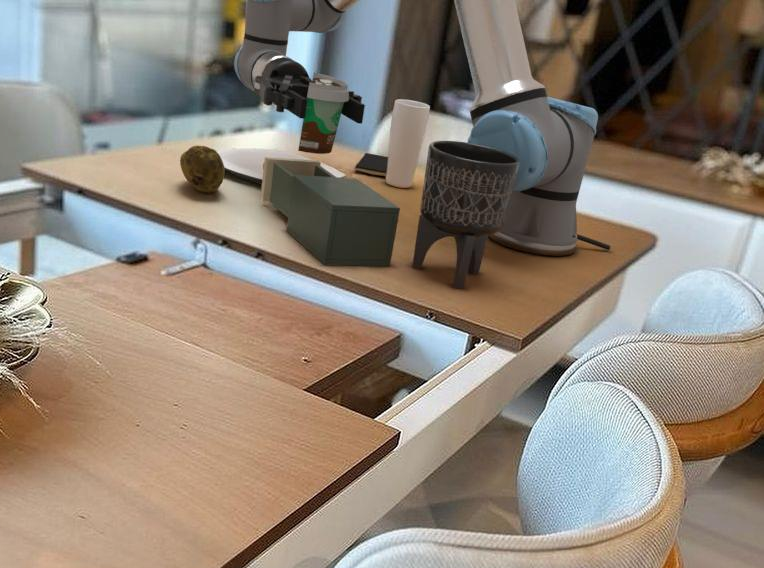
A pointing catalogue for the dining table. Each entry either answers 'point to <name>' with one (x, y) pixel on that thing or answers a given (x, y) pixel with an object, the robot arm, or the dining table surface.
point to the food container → (322, 113)
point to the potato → (203, 168)
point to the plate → (258, 162)
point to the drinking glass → (406, 141)
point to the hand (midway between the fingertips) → (332, 111)
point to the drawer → (286, 179)
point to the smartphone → (373, 164)
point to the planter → (464, 200)
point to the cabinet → (342, 221)
